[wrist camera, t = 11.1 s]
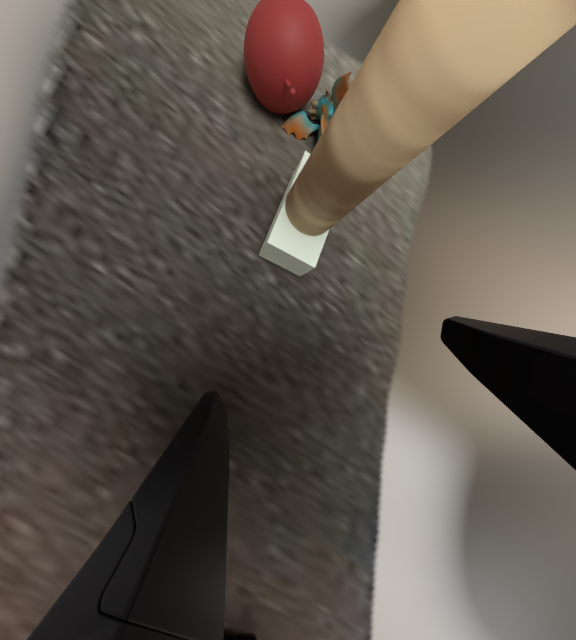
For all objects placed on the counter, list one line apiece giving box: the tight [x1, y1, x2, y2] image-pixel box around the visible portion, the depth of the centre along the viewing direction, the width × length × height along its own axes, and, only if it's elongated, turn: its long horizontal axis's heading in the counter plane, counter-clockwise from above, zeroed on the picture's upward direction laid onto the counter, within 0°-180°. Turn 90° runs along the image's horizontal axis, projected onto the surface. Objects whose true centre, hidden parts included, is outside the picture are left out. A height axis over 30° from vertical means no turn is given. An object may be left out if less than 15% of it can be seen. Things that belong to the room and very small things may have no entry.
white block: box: [259, 151, 329, 276], centre depth 18 cm, size 8×4×3 cm, turn 158°
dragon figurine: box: [280, 72, 351, 141], centre depth 20 cm, size 7×7×8 cm
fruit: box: [244, 0, 324, 114], centre depth 17 cm, size 6×6×8 cm
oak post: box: [285, 0, 576, 236], centre depth 11 cm, size 4×4×13 cm
